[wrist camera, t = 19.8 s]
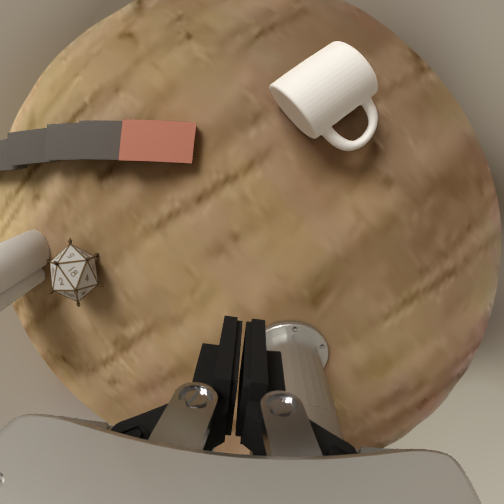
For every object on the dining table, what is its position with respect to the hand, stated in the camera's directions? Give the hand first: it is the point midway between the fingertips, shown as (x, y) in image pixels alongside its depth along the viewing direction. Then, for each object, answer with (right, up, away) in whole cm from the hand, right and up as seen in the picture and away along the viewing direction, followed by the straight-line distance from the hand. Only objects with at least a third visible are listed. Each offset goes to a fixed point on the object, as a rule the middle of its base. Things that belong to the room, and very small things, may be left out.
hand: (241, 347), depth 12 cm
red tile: (-7, +17, +22) cm, 29 cm away
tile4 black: (-27, +20, +22) cm, 40 cm away
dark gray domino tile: (-19, +19, +22) cm, 35 cm away
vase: (-37, +3, +28) cm, 46 cm away
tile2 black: (-13, +18, +22) cm, 31 cm away
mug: (+10, +22, +22) cm, 33 cm away
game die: (-25, +2, +28) cm, 37 cm away
